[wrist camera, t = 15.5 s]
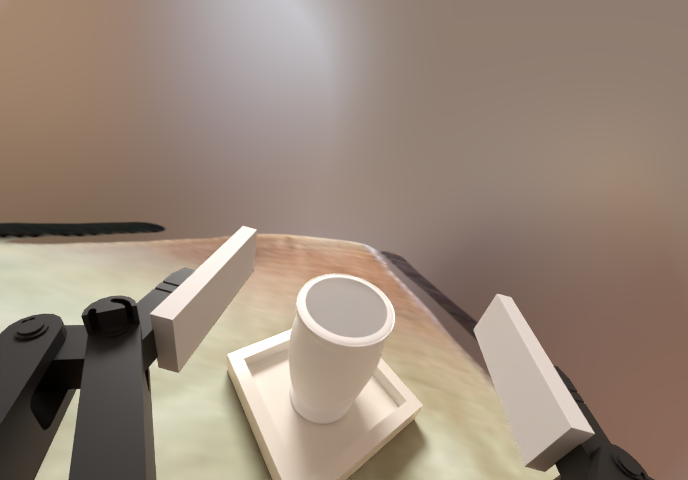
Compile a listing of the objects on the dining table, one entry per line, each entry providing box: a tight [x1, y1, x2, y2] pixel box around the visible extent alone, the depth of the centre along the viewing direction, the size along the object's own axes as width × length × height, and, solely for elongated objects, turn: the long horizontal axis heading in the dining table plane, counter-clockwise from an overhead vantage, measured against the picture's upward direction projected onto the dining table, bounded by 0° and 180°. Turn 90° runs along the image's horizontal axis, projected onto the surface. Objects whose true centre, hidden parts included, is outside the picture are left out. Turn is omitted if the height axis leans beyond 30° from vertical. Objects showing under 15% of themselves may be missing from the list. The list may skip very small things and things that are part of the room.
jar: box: [289, 274, 395, 424], centre depth 32 cm, size 11×10×15 cm
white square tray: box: [227, 329, 423, 480], centre depth 36 cm, size 18×18×3 cm
